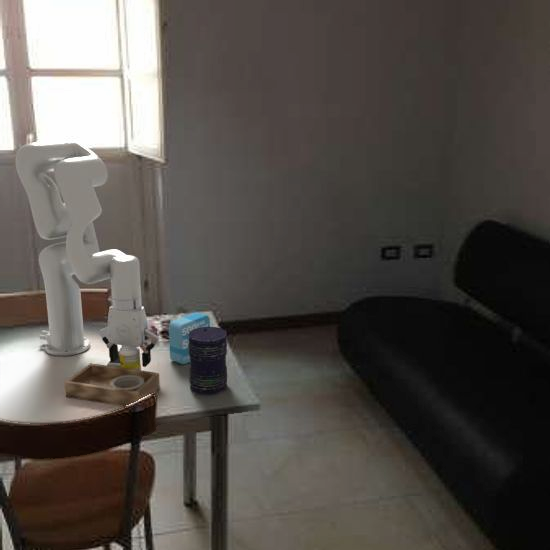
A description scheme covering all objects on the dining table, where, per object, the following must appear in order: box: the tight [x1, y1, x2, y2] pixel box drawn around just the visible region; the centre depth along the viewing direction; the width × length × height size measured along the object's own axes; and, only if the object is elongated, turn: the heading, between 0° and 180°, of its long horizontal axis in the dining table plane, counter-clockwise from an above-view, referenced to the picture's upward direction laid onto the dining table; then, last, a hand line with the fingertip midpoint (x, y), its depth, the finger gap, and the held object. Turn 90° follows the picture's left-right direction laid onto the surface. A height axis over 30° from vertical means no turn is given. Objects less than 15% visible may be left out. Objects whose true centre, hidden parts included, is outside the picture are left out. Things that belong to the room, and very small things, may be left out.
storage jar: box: [188, 326, 228, 397], centre depth 170 cm, size 10×10×15 cm
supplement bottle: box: [118, 345, 142, 371], centre depth 177 cm, size 5×5×10 cm
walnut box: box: [64, 362, 161, 407], centre depth 168 cm, size 20×12×4 cm, turn 74°
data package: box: [168, 311, 211, 365], centre depth 188 cm, size 12×4×12 cm, turn 142°
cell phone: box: [107, 350, 120, 367], centre depth 187 cm, size 6×11×1 cm, turn 173°
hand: (130, 362), depth 178 cm, fingers open, 9 cm apart
